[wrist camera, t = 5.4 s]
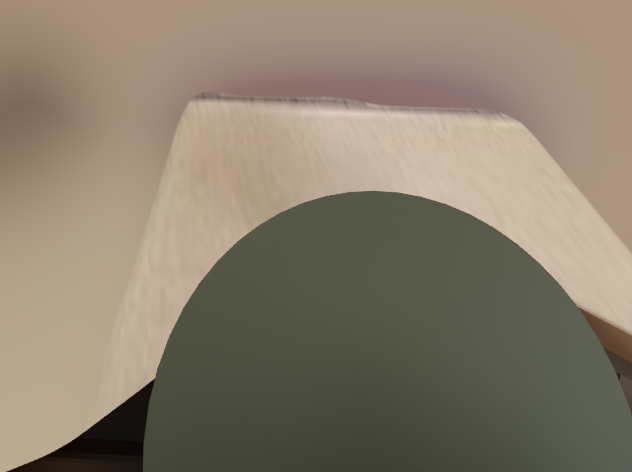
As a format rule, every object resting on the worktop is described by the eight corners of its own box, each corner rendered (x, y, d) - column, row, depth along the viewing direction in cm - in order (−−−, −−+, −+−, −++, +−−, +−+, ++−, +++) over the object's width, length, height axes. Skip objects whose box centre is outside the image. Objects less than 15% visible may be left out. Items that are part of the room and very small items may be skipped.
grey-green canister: (381, 351, 14) (779, 590, 2) (304, 387, 14) (215, 1027, 1) (347, 275, 16) (462, 145, 3) (276, 304, 15) (110, 273, 3)
